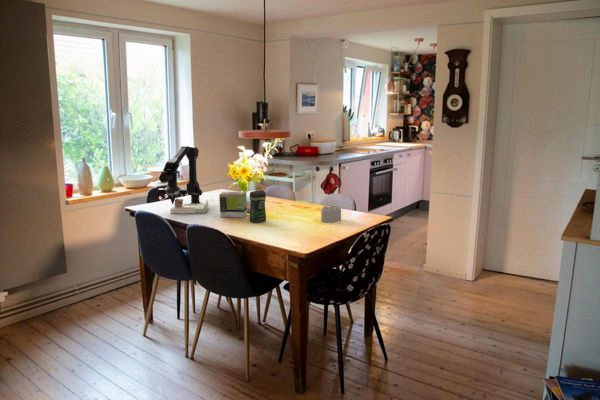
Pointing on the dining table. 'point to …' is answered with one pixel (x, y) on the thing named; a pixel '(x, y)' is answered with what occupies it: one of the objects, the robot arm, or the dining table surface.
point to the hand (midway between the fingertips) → (172, 204)
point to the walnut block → (178, 202)
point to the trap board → (190, 209)
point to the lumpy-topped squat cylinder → (330, 214)
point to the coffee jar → (257, 206)
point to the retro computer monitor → (233, 204)
